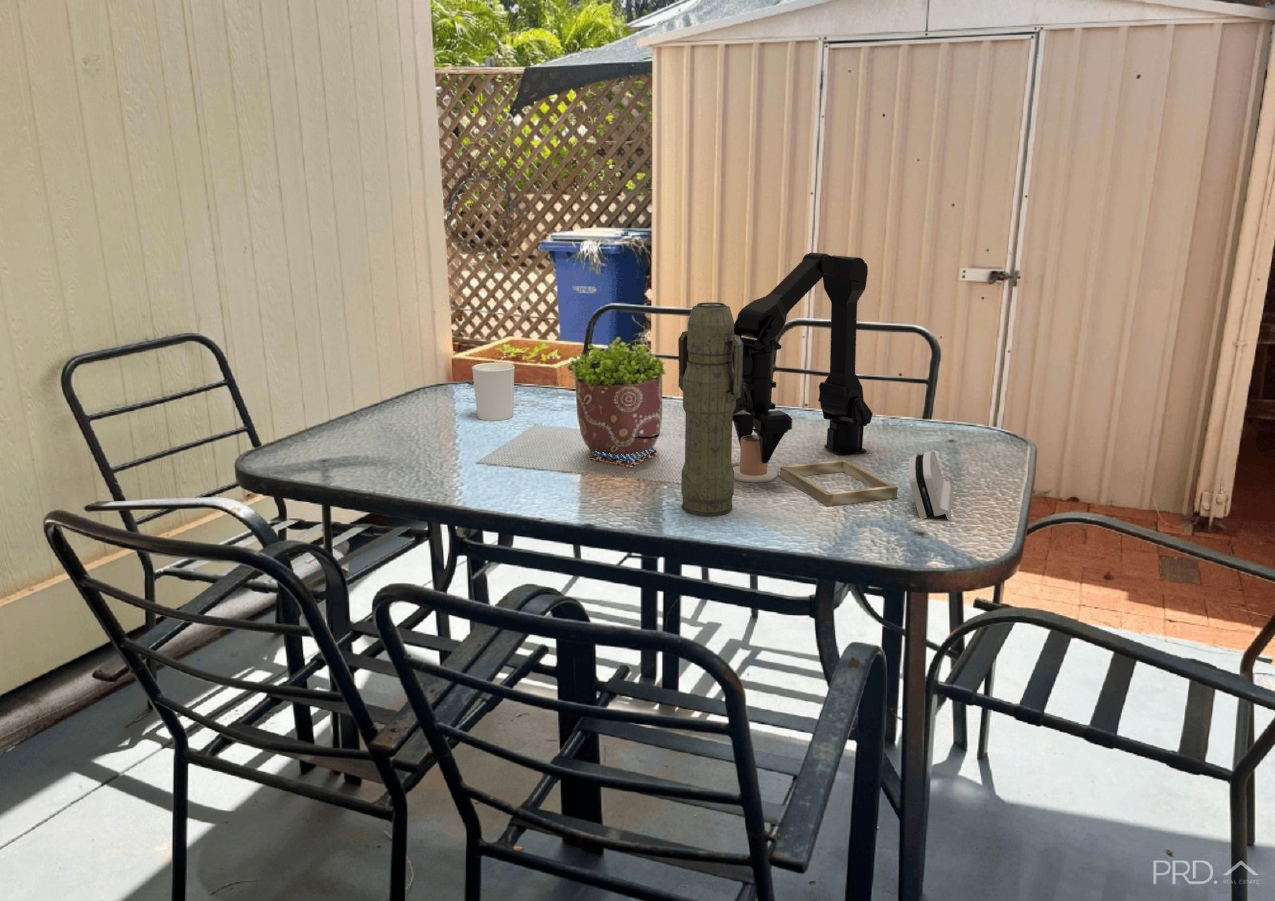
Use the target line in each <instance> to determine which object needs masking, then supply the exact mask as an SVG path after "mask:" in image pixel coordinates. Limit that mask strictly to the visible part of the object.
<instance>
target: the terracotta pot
mask: <svg viewBox="0 0 1275 901" xmlns="http://www.w3.org/2000/svg"><path fill="white" fill-rule="evenodd" d="M739 449H740V452H739V453H740V454H739V466H740V473H742V474H745V475H750V476H760V475H764V474H766V473H767V467H769V465H768V464H769V462H768V463H762V461H761V453H760V441H759V436H758V435H757V434H752V435H746V436H743V437H741V448H739Z"/></svg>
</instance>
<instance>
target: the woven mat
mask: <svg viewBox="0 0 1275 901" xmlns="http://www.w3.org/2000/svg"><path fill="white" fill-rule="evenodd" d="M650 448H651V449H650ZM650 448H649V449H648V450H645V451H642V452H640V453H638V452H636V453H632V454H630V453H628V454H626V455H624V454H623V455H622V454H621V455H619V454H617V455H615V454H610V453H609V454H608V453H604V452H602V453H601V452H597V451H596V450H595V451H592V452H591V454H590V455H591V456H590V460H591V459H594V460H593V461H595V460H597V462H601V463H607V464H612V463H614V464H613V465H617V466H622V467H628V468H629V467H630V468H633V467H634V466H637V465H640V464H641V463H643V462H645V461H647V460H650V459H652V458H653V457H657V456H658V453H657V449H654V448H653V447H650ZM601 456H602V457H601ZM651 457H652V458H651ZM646 459H647V460H646ZM653 459H654V458H653ZM620 460H621V461H620ZM623 463H624V464H623Z"/></svg>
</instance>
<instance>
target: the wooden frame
mask: <svg viewBox="0 0 1275 901" xmlns="http://www.w3.org/2000/svg"><path fill="white" fill-rule="evenodd" d="M779 468H780V469H779V477H780V478H781V479H783V480H785V481H786V482H787V483H789V484H791V485H793V486H794V487H796V488H797V489H799V490H800V491H802V492H804V493H805V494H807V495H808V496H810V497H812V498H813V499H815V500H816V501H818V502H819V503H821V504H823V505H824V506H826V507H832V506H841V505H848V504H856V503H863V502H864V503H866V502H873V501H883V500H891V499H897V498H898V492H899V487H898V486H896V485H894V484H893V483H891V482H889V481H887V480H885V479H883V478H881V477H879V476H878V475H876V474H874V473H871V472H870V471H868V470H866V469H864V468H862V467H860V466H858V465H857V464H854V463H853V462H851V461H849V460H846V459H841V460H839V459H838V460H833V461H832V460H831V461H821V462H811V463H801V464H792V465H782V466H780V467H779ZM843 472H844V473H845V474H847V475H849V476H850V477H853V478H854V479H856V480H858V481H860V482H861V483H863V484H865V485H867V486H869V487H870V488H860V489H852V490H851V489H850V490H845V491H836V492H829V491H828V490H826V489H824V488H822V487H821V486H819V485H817V484H816V483H814V482H812V481H811V480H809V479H808V478H806V476H814V475H815V476H816V475H823V474H835V473H843Z"/></svg>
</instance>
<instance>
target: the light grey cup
mask: <svg viewBox="0 0 1275 901" xmlns="http://www.w3.org/2000/svg"><path fill="white" fill-rule="evenodd" d="M515 368H516V367H515V365H514V364H513V363H507V362H484V363H477V364H475V365H473V366H471V371H472V377H473V378H472V380H473V387H474V397H475V406H476V408H475V409H476V414H477V418H478V420H482V421H488V422H498V421H499V422H500V421H501V422H502V421H505V420H509V419H512V418H513V416H514V405H515V404H514V400H515V399H514V398H515Z"/></svg>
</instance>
